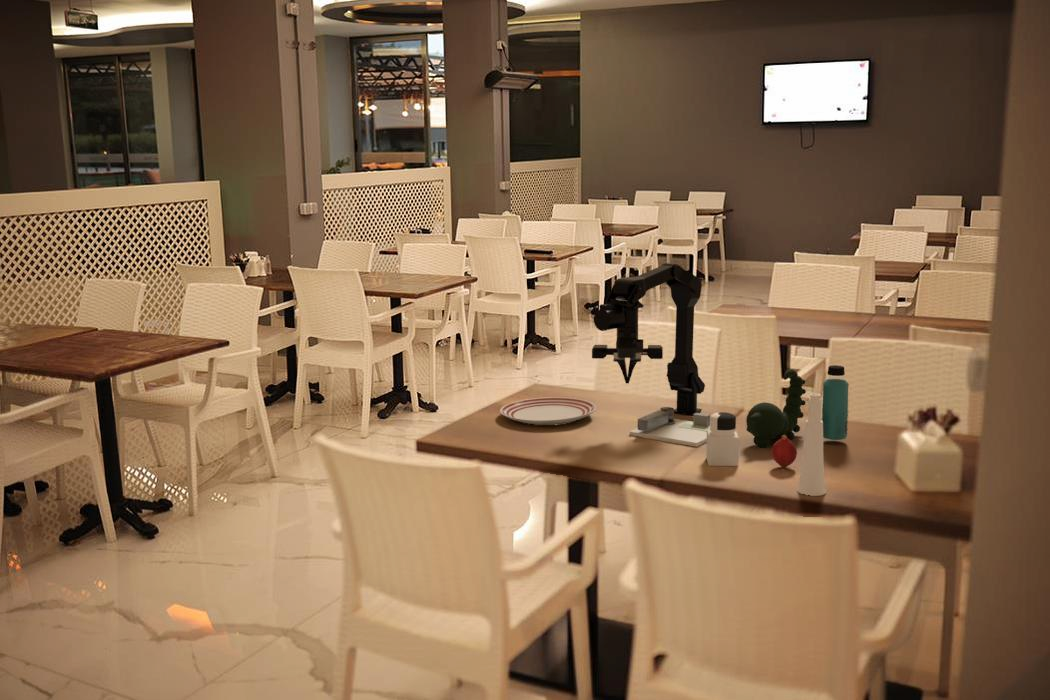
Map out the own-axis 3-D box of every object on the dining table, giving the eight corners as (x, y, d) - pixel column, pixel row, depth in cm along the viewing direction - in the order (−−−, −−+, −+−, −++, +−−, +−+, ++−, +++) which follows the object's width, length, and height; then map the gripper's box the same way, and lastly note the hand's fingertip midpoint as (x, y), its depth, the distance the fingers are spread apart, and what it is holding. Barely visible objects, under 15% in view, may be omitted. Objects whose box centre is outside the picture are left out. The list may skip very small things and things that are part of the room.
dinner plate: (487, 427, 281) (486, 416, 280) (516, 404, 306) (516, 393, 306) (583, 433, 273) (583, 422, 272) (605, 409, 298) (605, 398, 298)
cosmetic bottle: (813, 498, 219) (817, 399, 214) (791, 491, 223) (794, 394, 219) (831, 492, 222) (835, 394, 218) (809, 485, 227) (812, 389, 223)
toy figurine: (779, 434, 274) (731, 447, 255) (784, 365, 272) (736, 372, 253) (811, 440, 268) (765, 453, 249) (817, 369, 265) (770, 377, 247)
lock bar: (664, 417, 280) (664, 406, 279) (676, 419, 278) (676, 408, 277) (636, 429, 268) (636, 418, 268) (648, 431, 266) (648, 419, 266)
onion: (777, 462, 244) (778, 430, 242) (800, 466, 240) (801, 434, 239) (766, 468, 240) (767, 435, 238) (789, 472, 236) (790, 439, 234)
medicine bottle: (735, 457, 248) (736, 410, 246) (738, 466, 241) (739, 417, 239) (706, 457, 249) (706, 410, 247) (708, 466, 242) (709, 417, 240)
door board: (663, 420, 284) (663, 406, 283) (728, 431, 272) (728, 416, 271) (629, 435, 270) (629, 420, 269) (696, 446, 258) (697, 431, 257)
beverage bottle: (848, 446, 256) (851, 369, 252) (821, 445, 257) (824, 368, 254) (845, 439, 262) (849, 363, 259) (819, 438, 264) (822, 363, 260)
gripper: (590, 331, 263) (590, 389, 266) (663, 331, 260) (662, 390, 263) (593, 324, 274) (593, 380, 277) (662, 324, 271) (662, 381, 274)
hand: (627, 383), depth 272 cm, fingers closed
